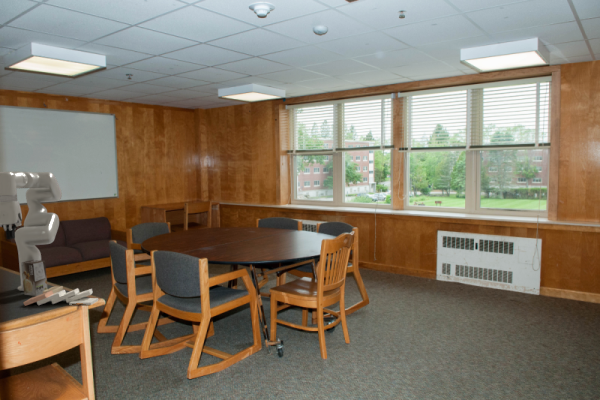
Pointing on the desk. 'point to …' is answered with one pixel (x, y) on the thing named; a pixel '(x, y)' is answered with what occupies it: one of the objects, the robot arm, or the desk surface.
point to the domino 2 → (51, 297)
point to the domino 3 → (65, 296)
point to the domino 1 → (38, 298)
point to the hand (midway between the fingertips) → (10, 238)
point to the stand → (54, 289)
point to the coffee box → (34, 277)
